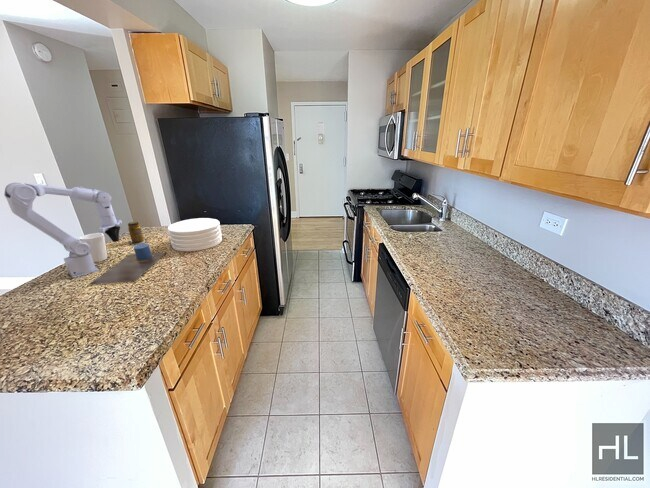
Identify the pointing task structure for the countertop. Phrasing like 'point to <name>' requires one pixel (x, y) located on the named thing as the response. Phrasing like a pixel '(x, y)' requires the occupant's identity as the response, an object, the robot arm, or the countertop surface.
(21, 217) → the robot arm
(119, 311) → the countertop surface
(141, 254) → the can
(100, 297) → the countertop surface
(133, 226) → the condiment
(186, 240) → the plate stack
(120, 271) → the board
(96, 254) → the foam cup
